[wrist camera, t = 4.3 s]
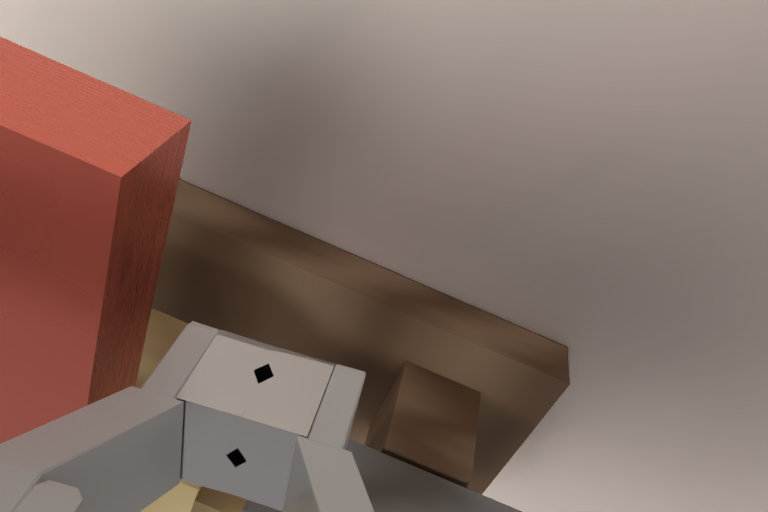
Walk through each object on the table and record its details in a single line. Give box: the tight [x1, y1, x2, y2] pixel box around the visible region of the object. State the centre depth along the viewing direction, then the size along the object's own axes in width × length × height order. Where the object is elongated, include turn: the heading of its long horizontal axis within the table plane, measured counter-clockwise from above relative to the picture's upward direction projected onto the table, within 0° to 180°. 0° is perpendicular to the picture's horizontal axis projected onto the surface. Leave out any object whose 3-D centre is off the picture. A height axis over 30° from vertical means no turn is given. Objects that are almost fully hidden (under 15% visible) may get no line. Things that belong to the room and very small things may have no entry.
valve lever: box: [0, 37, 191, 444], centre depth 12 cm, size 15×3×2 cm, turn 159°
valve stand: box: [135, 180, 570, 512], centre depth 21 cm, size 26×8×12 cm, turn 69°
